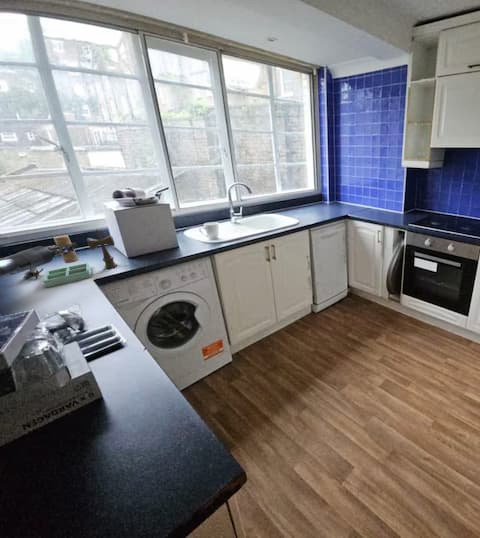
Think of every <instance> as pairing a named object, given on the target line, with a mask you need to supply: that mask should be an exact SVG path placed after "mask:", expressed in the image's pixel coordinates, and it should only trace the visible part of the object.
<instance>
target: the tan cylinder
mask: <svg viewBox="0 0 480 538" xmlns="http://www.w3.org/2000/svg"><path fill="white" fill-rule="evenodd" d="M53 240H54V243H55V245H57V246H65V245H69V244H72V242H71V238H70V237H69V235H68V234H64V235H58V236H54V237H53ZM60 250H61V248H60ZM60 255H61V257H62V259H63V262H64V263H65V264H72V263H76V262H78V261H79V257H78V255H77V253H76V250H75V249H74V251H72V252H70V253H68V254H66V255H65V254H60Z"/></svg>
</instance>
